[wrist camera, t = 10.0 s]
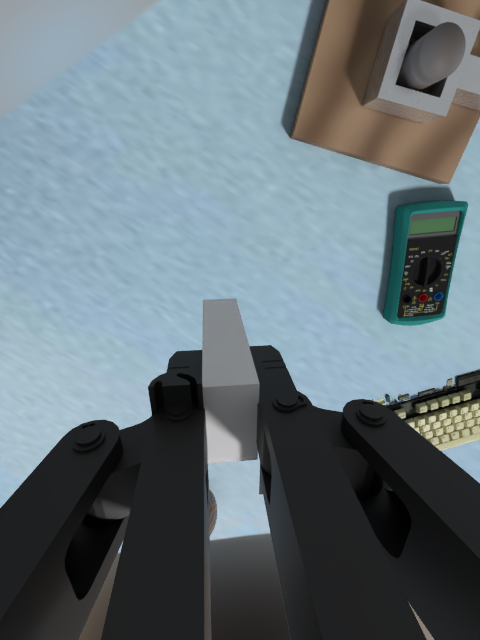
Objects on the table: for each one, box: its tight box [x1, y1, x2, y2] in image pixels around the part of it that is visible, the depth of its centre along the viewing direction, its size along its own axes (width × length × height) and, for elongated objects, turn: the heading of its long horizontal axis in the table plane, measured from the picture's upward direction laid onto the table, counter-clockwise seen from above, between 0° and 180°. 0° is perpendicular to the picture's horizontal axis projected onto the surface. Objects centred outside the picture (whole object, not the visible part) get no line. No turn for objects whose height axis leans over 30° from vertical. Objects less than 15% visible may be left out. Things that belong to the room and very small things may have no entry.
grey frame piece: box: [362, 0, 480, 124], centre depth 28 cm, size 13×7×3 cm, turn 79°
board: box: [290, 0, 480, 184], centre depth 27 cm, size 18×15×6 cm
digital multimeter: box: [383, 201, 468, 325], centre depth 37 cm, size 7×15×3 cm, turn 4°
